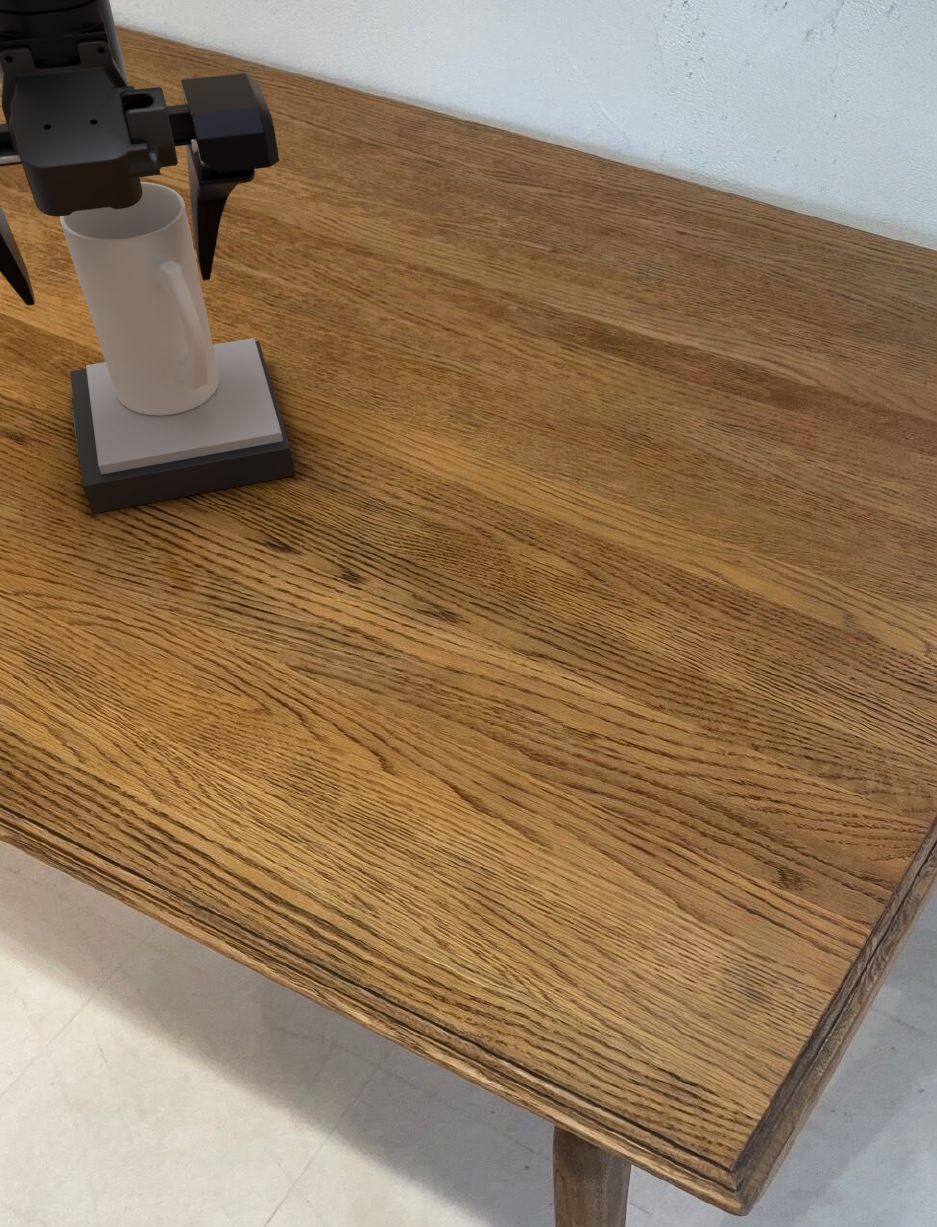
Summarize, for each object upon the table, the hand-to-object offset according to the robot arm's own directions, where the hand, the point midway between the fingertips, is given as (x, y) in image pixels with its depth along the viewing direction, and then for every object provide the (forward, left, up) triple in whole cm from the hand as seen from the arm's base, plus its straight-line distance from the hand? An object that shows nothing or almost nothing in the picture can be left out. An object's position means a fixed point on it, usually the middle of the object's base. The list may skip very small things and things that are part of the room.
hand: (119, 289), depth 71 cm
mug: (+2, +3, -10) cm, 10 cm away
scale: (+1, +3, -13) cm, 13 cm away
